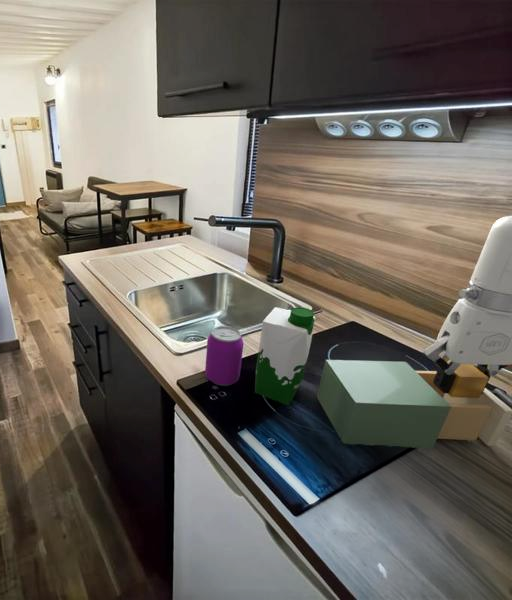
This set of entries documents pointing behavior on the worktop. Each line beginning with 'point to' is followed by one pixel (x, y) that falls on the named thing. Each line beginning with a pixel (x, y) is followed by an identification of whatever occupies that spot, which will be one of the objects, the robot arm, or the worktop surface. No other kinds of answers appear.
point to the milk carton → (283, 353)
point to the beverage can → (224, 355)
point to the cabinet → (381, 403)
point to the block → (468, 382)
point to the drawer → (474, 414)
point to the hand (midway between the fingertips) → (456, 388)
